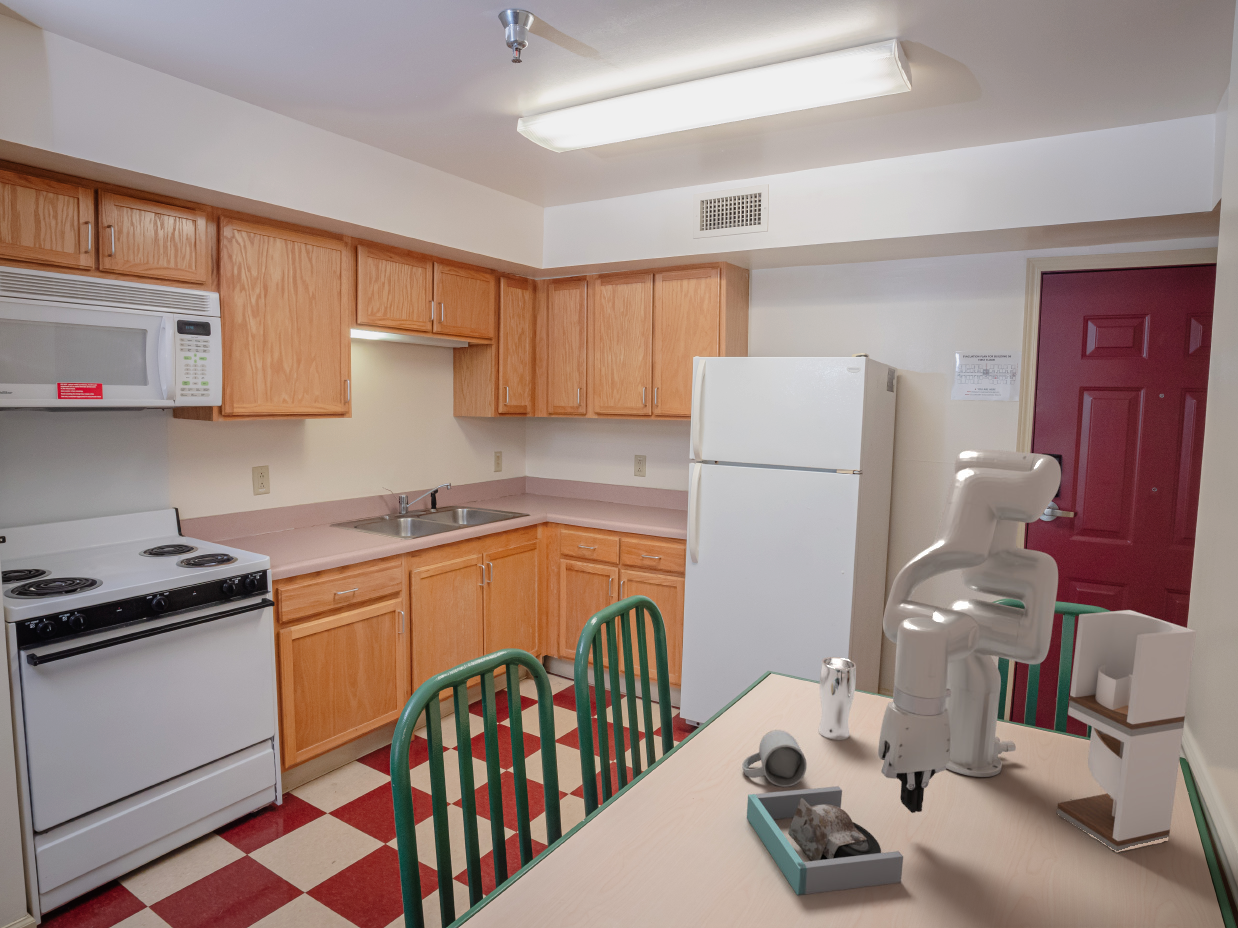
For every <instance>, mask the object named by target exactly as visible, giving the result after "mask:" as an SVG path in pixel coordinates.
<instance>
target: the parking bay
mask: <svg viewBox="0 0 1238 928" xmlns="http://www.w3.org/2000/svg"><path fill="white" fill-rule="evenodd" d="M842 795H843V790H842V788H841V787H840V786H839V785H837V786H828V787H827V786H826V787H816V788H815V787H814V788H806V789H794V790H784V791H783V790H782V791H772V792H761V793H751V794H747V803H746V804H747V809H746V819H747V821H748V822H749V823H750V825H751V826H752V828H753V829H754V831H755V833H756V834H757V836H758V837H759V839H760V841H761V842H762V843H763V844H764V846H765V848H766V850H767V851H768V852H769V854H770V855H771V858H773V860H774V862H775V863H776V865H777V866H778V868H779V869H780V871H781V873H782V875H783V876H784V877H785V879H786V880H787V882H788V883H789V885H790V886H791V888H792V890H793V891H794V892H795V894H796V895H797V896H802V895H808V894H809V895H810V894H818V893H819V894H820V893H827V892H833V891H841V890H851V889H857V888H865V887H866V888H867V887H874V886H880V885H881V886H882V885H889V884H897V883H901V882H902V878H903V877H902V875H903V866H904V865H903V862H904V855H903V854H902V853H901V852H900V851H899V850H896V851H895V850H894V851H888V852H881V853H877V854H868V855H860V856H851V857H843V858H834V859H829V858H827V859H820V860H817V861H812V860H810V861H804V860H802V859H801V857H800V856H799V854H798V853H797V852H796V850H795V848H794V846H793V845H792V844H791V843H790V842H789V840H788V839H787V837H786V836H785V834H784V832H783V831H782V830H781V829H780V827H779V826H778V824H777V823H776V821H775V820H781V819H783V820H784V819H791V818H792V819H793V818H794V816H795V813H796V810H797V808H798V805H799V803H800V800H801V798H802V799H804V800H805V801H806V802H807V803H808V804H809V806H810V807H811V806H817V805H833V806H836V807H839V808H841V809H842V797H843V796H842Z"/></svg>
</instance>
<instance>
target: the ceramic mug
mask: <svg viewBox="0 0 1238 928" xmlns="http://www.w3.org/2000/svg"><path fill="white" fill-rule="evenodd" d="M758 748H759V749H758V752H755V753H753V754H751V755H749V756H748V757H746V758H745V759H744V761H743V762H742V770H743V773H744V775H745V776H746V777H748V778H750V779H751V778H752V779H754V778H760V777H763V776H765V778H766V779H767V780H768V781H769V782H770V783H771V784H773V785H774V786H778V787H782V788H789V787H793V786H795V785H797V784H798V783H799V782H800V781H801V780H802V779H803V778H804V777H805V774H806V772H807V764H808V763H807V759H806V756H805V754H804V753H803V750H802V748H801V747H800V745H799V743H798V741H797V740H796V739H795V737H794V736H793V735H791V734H790V733H789V732H787V731H785V730H781V729H775V730H770V731H769V732H767V733H765V734H764V735H763V736H762V738H761V740H760V742H759V747H758ZM757 762H761V766H760V767H756V768H750V766H752V765H754V764H755V763H757Z"/></svg>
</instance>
